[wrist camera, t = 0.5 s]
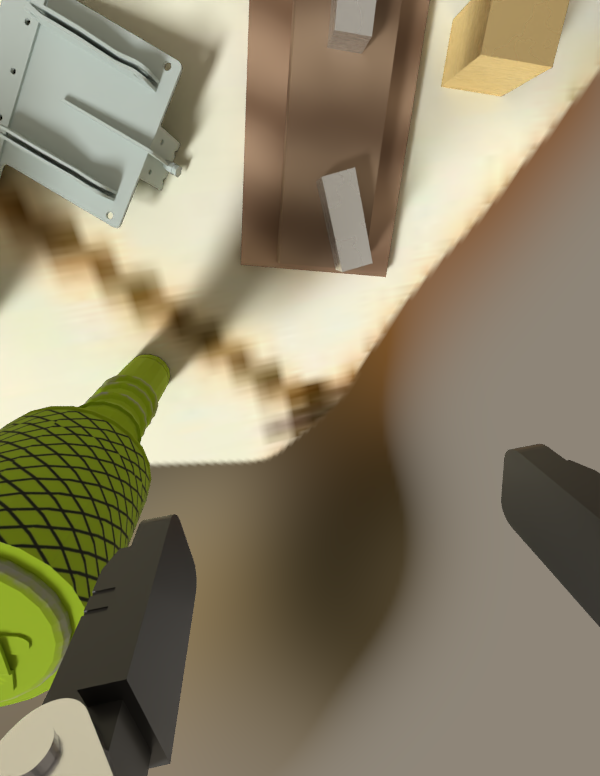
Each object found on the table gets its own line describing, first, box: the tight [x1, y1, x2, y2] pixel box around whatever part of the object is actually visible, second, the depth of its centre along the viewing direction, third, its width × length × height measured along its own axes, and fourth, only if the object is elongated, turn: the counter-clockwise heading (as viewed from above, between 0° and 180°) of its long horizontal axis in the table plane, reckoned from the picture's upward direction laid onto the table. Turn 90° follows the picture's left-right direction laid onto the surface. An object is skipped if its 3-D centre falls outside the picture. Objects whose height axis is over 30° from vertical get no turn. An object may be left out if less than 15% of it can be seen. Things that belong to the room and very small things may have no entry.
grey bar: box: [316, 0, 376, 272], centre depth 24 cm, size 19×4×2 cm, turn 175°
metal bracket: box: [0, 0, 183, 228], centre depth 27 cm, size 14×6×15 cm
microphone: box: [0, 354, 170, 707], centre depth 23 cm, size 8×8×25 cm
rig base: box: [241, 0, 430, 277], centre depth 27 cm, size 20×12×4 cm, turn 175°
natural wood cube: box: [441, 0, 569, 96], centre depth 26 cm, size 5×4×6 cm
